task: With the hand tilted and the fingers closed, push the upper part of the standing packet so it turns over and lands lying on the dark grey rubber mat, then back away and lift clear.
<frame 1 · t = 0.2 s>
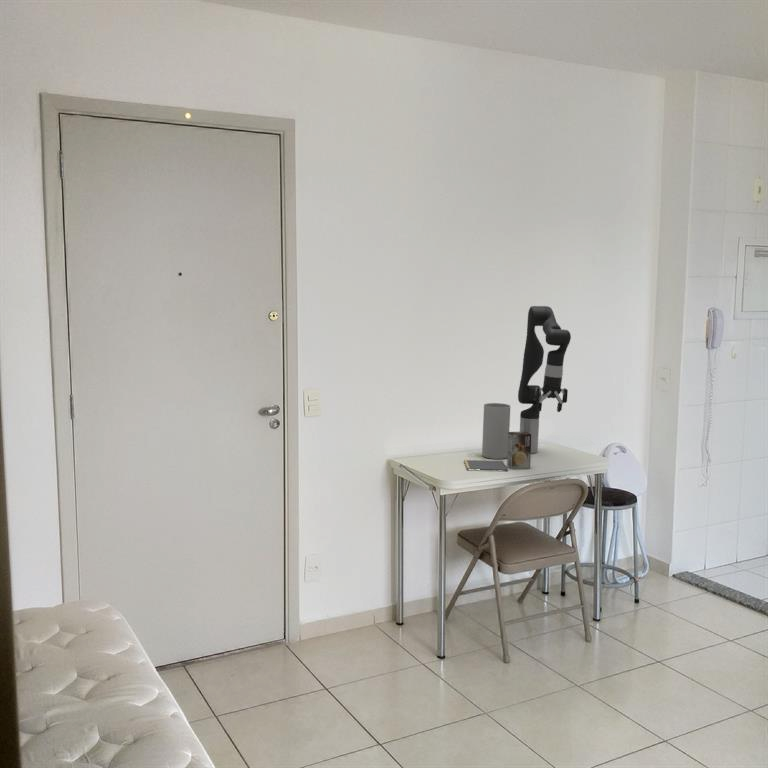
hand: (548, 411, 345), 28 cm above the table, tool pointing down, fingers open, 8 cm apart
mat: (485, 466, 360), on the table
coffee box: (518, 467, 360), on the table
cylinder vase: (495, 456, 380), on the table
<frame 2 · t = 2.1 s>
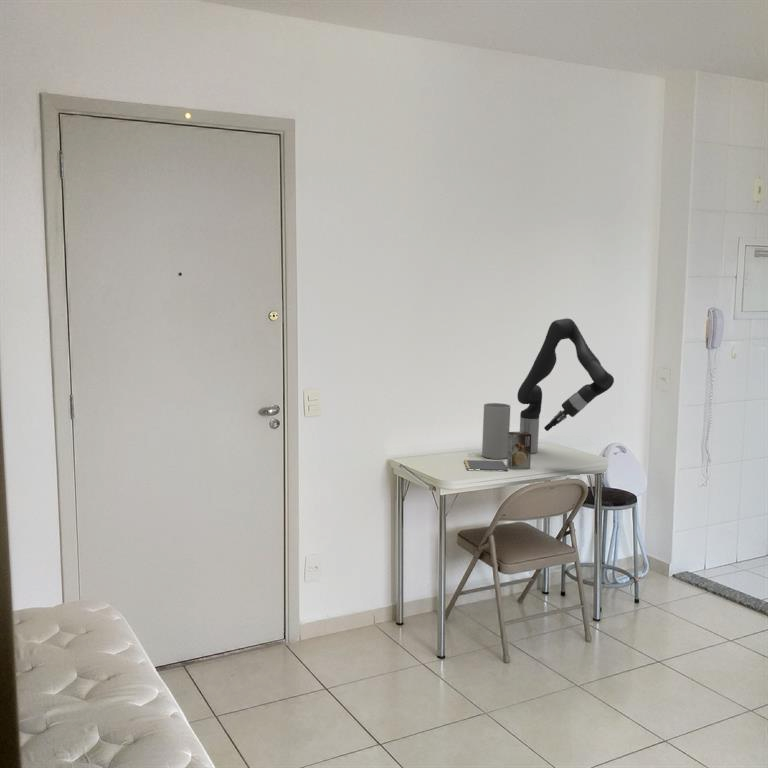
hand: (545, 429, 354), 19 cm above the table, tool tilted 45°, fingers closed
nothing on the table moved.
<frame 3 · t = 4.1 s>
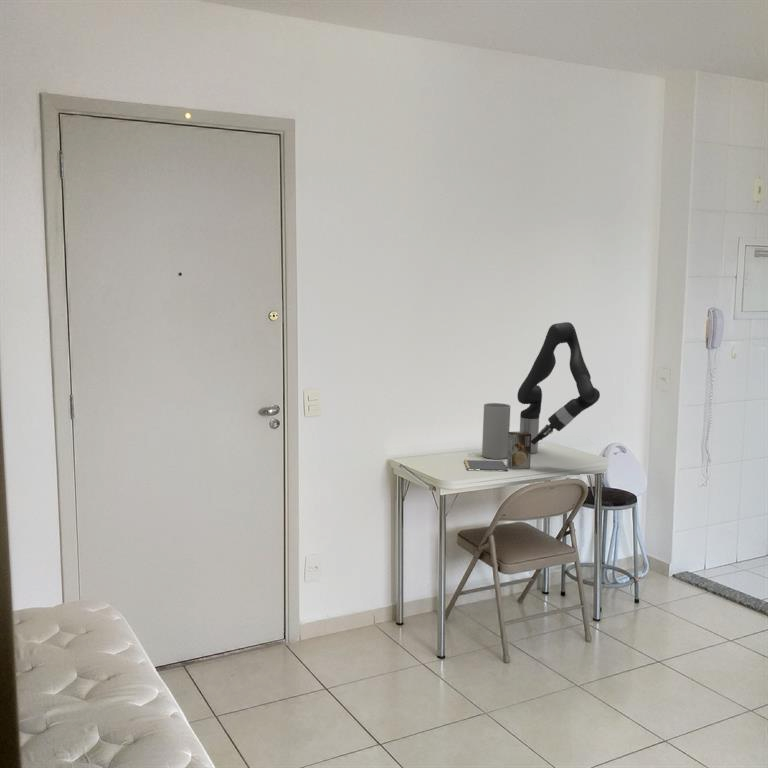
hand: (532, 442, 357), 12 cm above the table, tool tilted 45°, fingers closed
coffee box: (518, 467, 360), on the table, touching gripper
everything else where it was.
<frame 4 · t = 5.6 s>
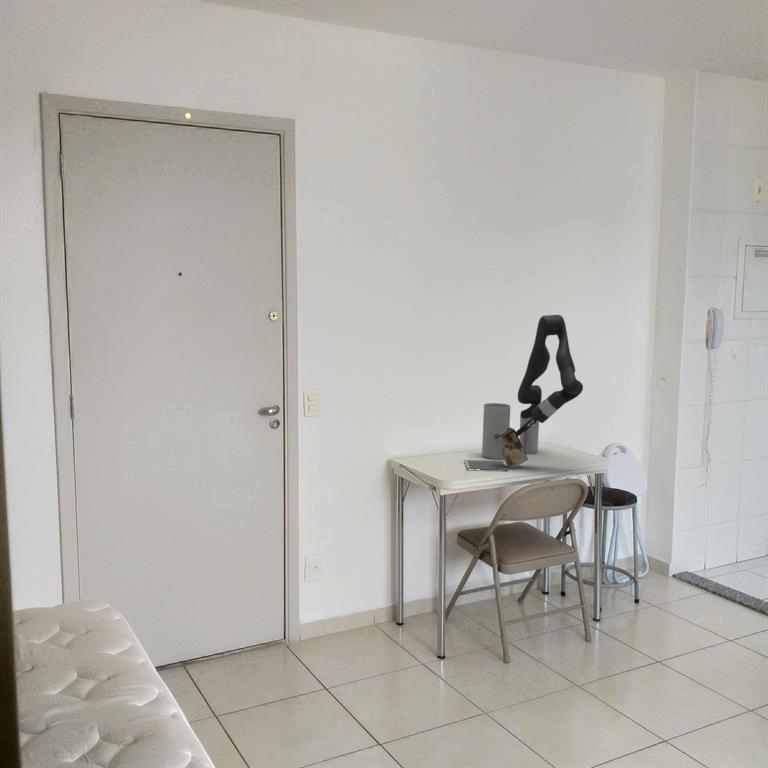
hand: (515, 434, 359), 15 cm above the table, tool tilted 45°, fingers closed
coffee box: (517, 463, 360), point 2 cm above the table
everything else where it was.
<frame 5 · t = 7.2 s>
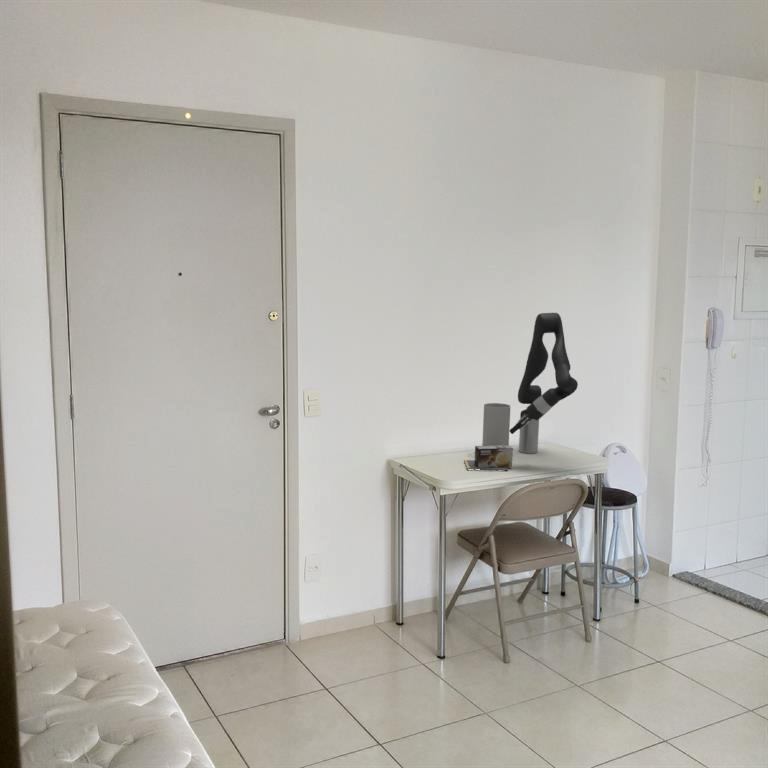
hand: (510, 432, 359), 16 cm above the table, tool tilted 45°, fingers closed
coffee box: (510, 456, 359), point 5 cm above the table, touching mat
everything else where it was.
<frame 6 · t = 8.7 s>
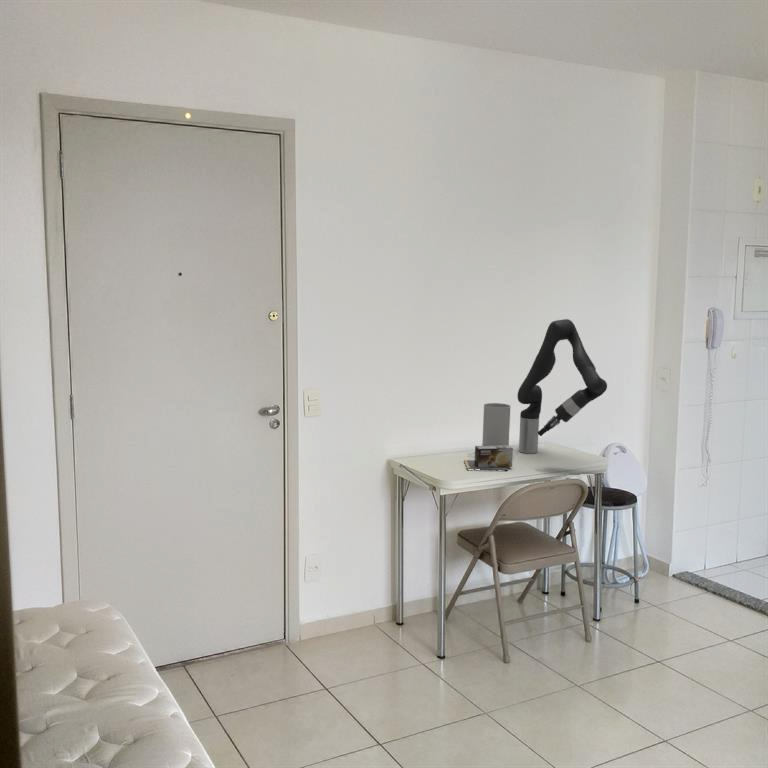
hand: (539, 434, 355), 16 cm above the table, tool tilted 45°, fingers closed
nothing on the table moved.
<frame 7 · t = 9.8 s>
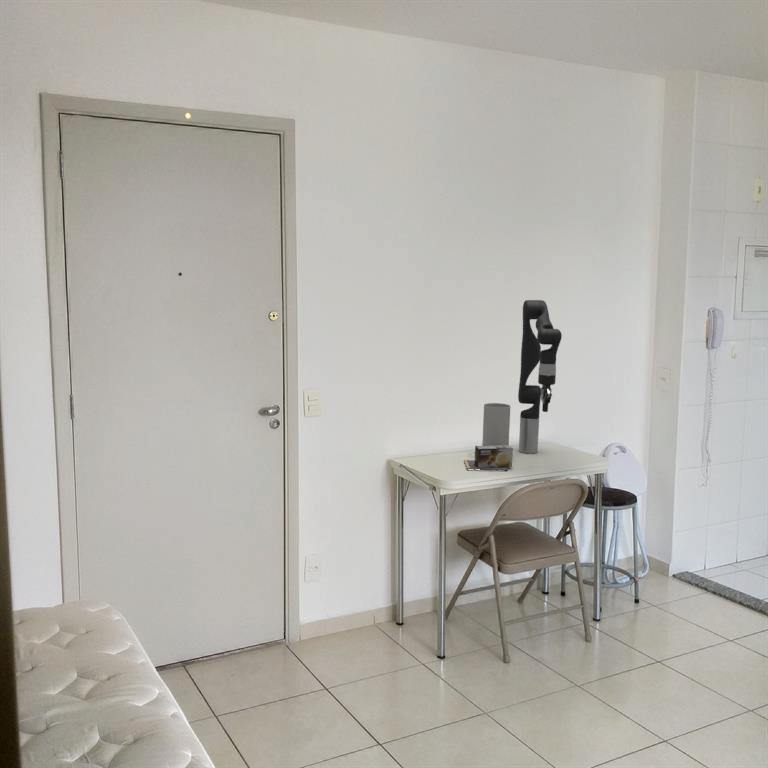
hand: (545, 411, 354), 26 cm above the table, tool pointing down, fingers closed
nothing on the table moved.
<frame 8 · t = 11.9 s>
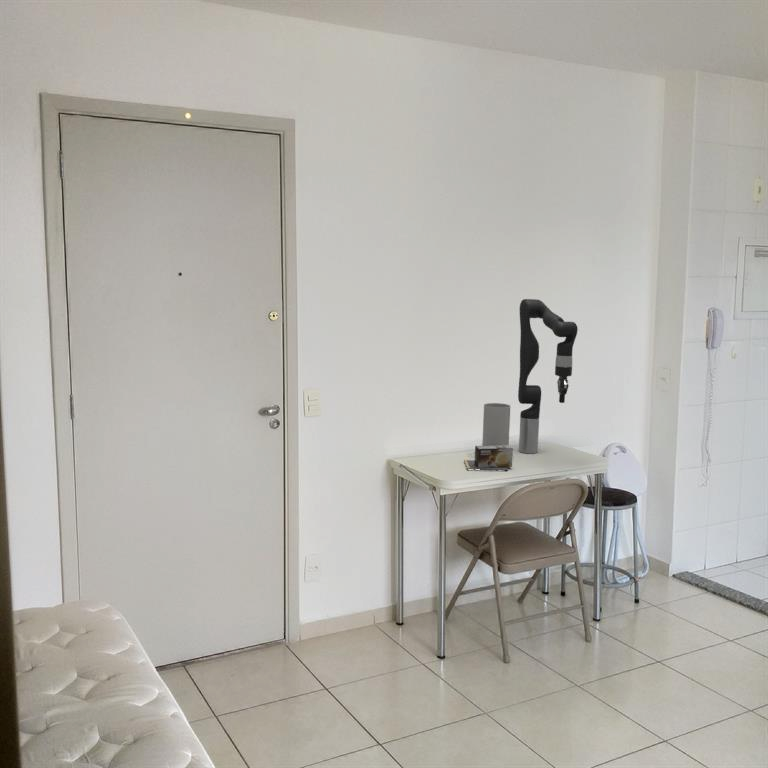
hand: (561, 402, 364), 29 cm above the table, tool pointing down, fingers closed
nothing on the table moved.
at the end: coffee box tilted 89°; coffee box inside the target area (6.4 cm from its centre), point 5.2 cm above the table; the gripper is holding nothing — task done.
